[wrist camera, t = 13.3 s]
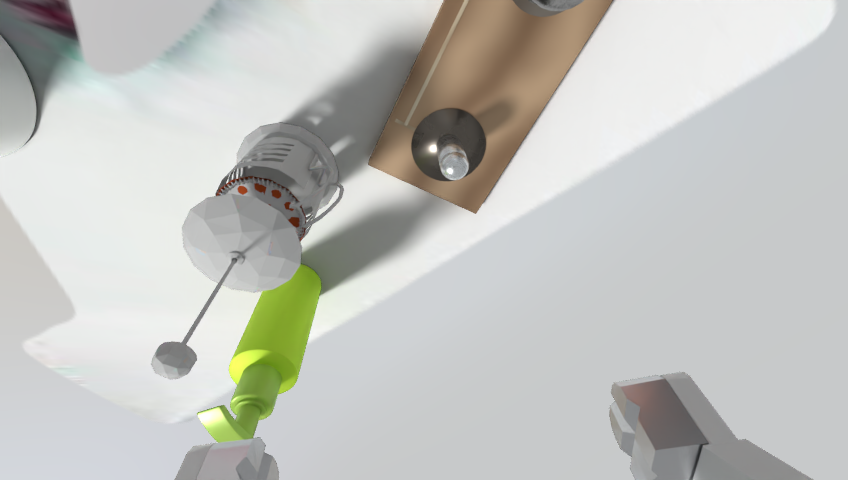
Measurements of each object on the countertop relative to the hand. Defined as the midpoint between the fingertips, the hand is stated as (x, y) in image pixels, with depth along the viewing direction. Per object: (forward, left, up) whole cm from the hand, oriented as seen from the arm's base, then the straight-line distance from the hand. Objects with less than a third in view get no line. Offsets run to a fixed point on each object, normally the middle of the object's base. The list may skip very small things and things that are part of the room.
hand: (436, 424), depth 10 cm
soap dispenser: (-3, -24, -33) cm, 41 cm away
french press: (-7, -11, -33) cm, 36 cm away
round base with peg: (+5, -2, -32) cm, 32 cm away
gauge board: (+5, +6, -33) cm, 34 cm away
